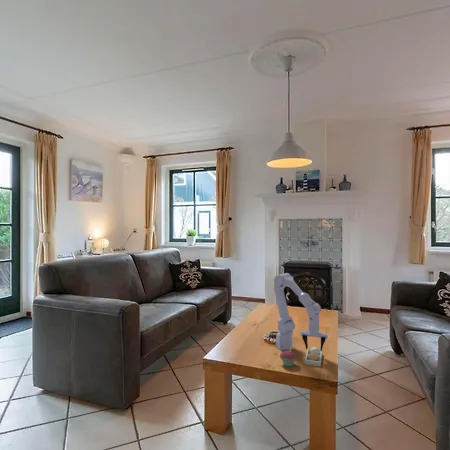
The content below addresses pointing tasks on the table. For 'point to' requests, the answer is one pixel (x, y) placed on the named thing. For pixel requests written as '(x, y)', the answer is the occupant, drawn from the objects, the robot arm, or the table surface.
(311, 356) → the brown egg
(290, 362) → the cupcake
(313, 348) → the white egg
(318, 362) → the carton
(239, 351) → the table surface
